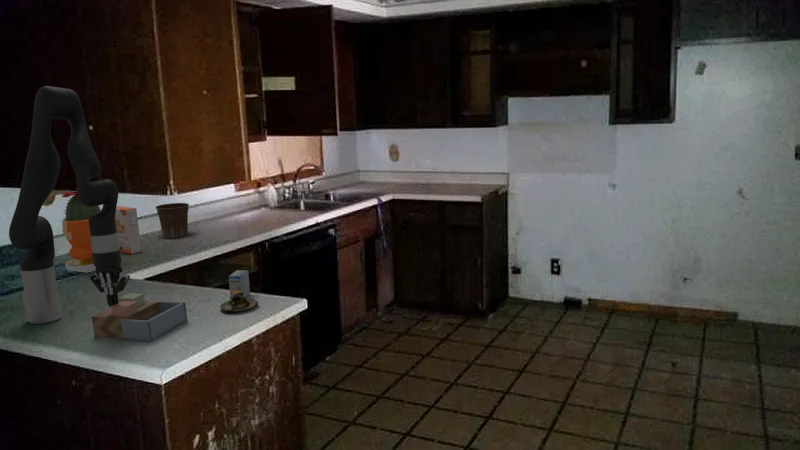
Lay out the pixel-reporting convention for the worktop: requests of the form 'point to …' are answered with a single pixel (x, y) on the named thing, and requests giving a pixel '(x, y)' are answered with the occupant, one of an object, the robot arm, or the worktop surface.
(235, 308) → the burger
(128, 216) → the cracker box
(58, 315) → the robot arm
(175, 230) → the plant pot
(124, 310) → the tile terracotta
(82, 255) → the potted cactus
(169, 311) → the tray
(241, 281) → the medicine box
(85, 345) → the worktop surface
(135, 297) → the tile sage
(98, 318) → the wooden block
